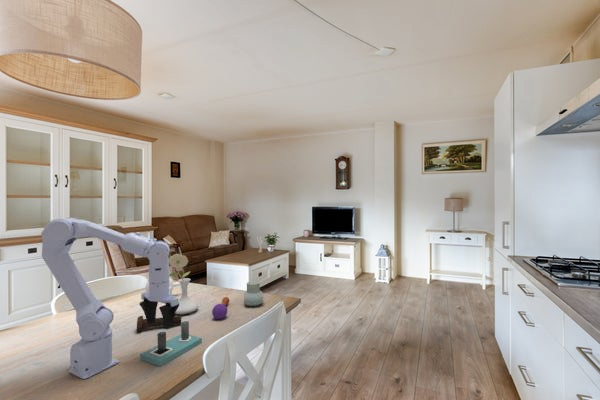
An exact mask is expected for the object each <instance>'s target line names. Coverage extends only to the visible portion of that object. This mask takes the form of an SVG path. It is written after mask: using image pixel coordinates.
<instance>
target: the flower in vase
mask: <svg viewBox="0 0 600 400" xmlns="http://www.w3.org/2000/svg"><path fill="white" fill-rule="evenodd" d="M187 257H188V256H186V255H183V254H182V253H180V254H179V253H174V254H173V255H171V256H170V257H169V258H168V259H169V267H172V268H176V269H177V272H174V271H172V272H171V273H169V277H172V278H173V277H174V278H176V277H178V276H179V277H180V279H179V278H178V280H177V282H179V283H180V284H181V285H180V288H181V295H180V298H178V303H179V307H178V309H177V310H176V313H175V314H176V315H186V314H190V313H193V312H195V311H197V310H198V308H199V304H198V303H197V302H196V301H195V300H193V299H192V298H190V297H189V296H188V285H189V283H190V281H191V278H188V277H186V276H188V275H189V274H190V273H191V270H190V271H187V272H185V273H184V274H183V275H181V274H180V272H179V269H181V268H184V267H186V266H187V264H188V263H189V259H188V258H187ZM184 277H185V278H184Z"/></svg>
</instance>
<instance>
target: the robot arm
mask: <svg viewBox="0 0 600 400" xmlns="http://www.w3.org/2000/svg"><path fill="white" fill-rule="evenodd" d="M40 236H41V238H42V245H41V246H42V247H41V257H42V259H43V261H44V263H45V264H46V266H47V268H48V269H49V270H50V272H51V273H52V275H53V277H54V278H55V280H56V281H57V283H58V284H59V286H60V288H61V289H62V291H63V293H64V294H65V296H66V297H67V299H68V300H69V302H70V303H71V306H72V307H73V309H74V310H75V321H76V323H77V325H78V334H79V336H80V337H81V339H80V340H79V341H77V342H75V343H73V344H72V345H71V347H70V352H69V358H70V359H69V361H70V363H69V364H70V365H69V367H70V368H69V370H68V372H69V373H70V374H72V375H74V376H76V377H78V378H80V379H82V380H87V379H88V378H90V377H93V376H95V375H96V374H98V373H100V372H102V371H103V372H104V370H106V369H108V368H110V367H112V366H115V365H116V364H118V363H120V360H118V359H115V358H114V357H113V329H112V328H111V326H110V325H111V324H112V322H113V320H114V313H113V311H112V309H111V308H108V307H107V306H105V304H104V302H103V301H100V299H99V300H98V299H97V298H96V297H95V295H94V293H93V292H92V290H91V288H90V286H89V285H88V284H87V282H86V280H85V278H84V276H83V275H82V273H81V272H80V270H79V269H78V267H77V266H76V264H75V263H74V261H73V259H72V258H71V256H70V254H69V252H70V251H71V248H72V246H73V244H74V242H76V240H77V239H80V238H81V239H82V238H87V237H91V238H95V239H98V240H101V241H104V242H105V241H106V242H109V243H113V244H116V245H119V246H120V247H121V249H122V250H123V251H124V252H127V253H130V254H133V255H135V256H139V257H143V258H147V259H148V260H149V266H148V280H149V292H146V291H145V292H141V295H140V296H141V300H142V301H140V302H139V306H140V307H141V309H142V310H143V313H144V316H145V319H146V320H147V323H148V324H151V323H154V322H155V319H156V318H157V307H158V304H159V303H161V304H165V305H161V306H159V308H158V309H159V311H160V313H161V316H162V317H161V318H163V326H162V327H163V329H164V330H168V329H169V328H172V326H173V325H172V322H173V318H174V316H176V315H175V313H176V310H177V309H178V307H179V303H178V300H179V298H178V297H175V296H174V295H173V294H172V293H173V291H172V292H169V277H170V276H169V275H170V264H169V259H170V258H169V256H170V250H171V249H170V245H169V244H168V243H166V242H164V241H163V240H157V238H155V237H153V239H152V238H149V237H146V236H143V235H142V233H141V232H140V231H139V232H138V231H136V232H129V233H125V234H124V233H123V232H119V231H118V230H117V231H116V230H113V229H111V228H109V227H106V226H103V225H101V224H98V223H95V222H92V221H89V220H86V219H80V218H77V217H74V216H73V217H65V218H55V219H52V220H51V221H49V222H48V223H47V224H46V225H45V227H44V228H43V230H42V231H41V234H40Z"/></svg>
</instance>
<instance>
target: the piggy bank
mask: <svg viewBox="0 0 600 400" xmlns="http://www.w3.org/2000/svg"><path fill="white" fill-rule="evenodd" d="M179 286H180V287H181V284H180V283H179V281H177V282H174V280H173V279H172V278H171V276H169V292H172V293H173V290H174V287H175V288H177V287H179ZM145 292H149V279H147V282H146V285H145Z"/></svg>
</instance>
